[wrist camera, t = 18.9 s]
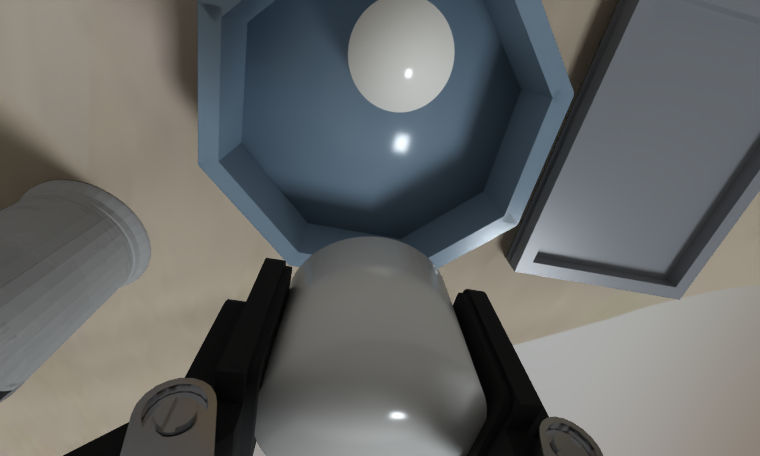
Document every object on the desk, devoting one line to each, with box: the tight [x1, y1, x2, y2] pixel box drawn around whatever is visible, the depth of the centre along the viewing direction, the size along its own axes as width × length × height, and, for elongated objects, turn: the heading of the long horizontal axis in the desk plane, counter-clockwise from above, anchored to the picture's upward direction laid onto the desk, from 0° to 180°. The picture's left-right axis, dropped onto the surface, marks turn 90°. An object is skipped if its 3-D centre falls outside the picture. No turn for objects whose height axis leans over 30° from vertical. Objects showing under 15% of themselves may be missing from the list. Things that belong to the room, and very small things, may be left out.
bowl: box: [198, 0, 574, 269], centre depth 20 cm, size 18×18×5 cm
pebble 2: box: [254, 237, 487, 456], centre depth 9 cm, size 5×5×4 cm
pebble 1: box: [348, 0, 455, 112], centre depth 19 cm, size 5×5×4 cm
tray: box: [506, 0, 760, 299], centre depth 24 cm, size 14×19×2 cm
